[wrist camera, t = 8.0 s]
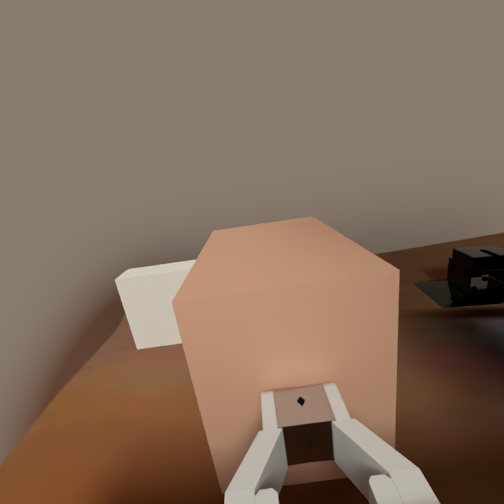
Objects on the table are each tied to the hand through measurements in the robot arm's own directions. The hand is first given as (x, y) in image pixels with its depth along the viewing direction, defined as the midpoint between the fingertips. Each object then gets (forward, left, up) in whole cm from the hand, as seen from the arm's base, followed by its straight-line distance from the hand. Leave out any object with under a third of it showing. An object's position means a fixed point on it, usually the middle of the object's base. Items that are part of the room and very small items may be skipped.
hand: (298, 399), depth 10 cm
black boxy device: (-20, -14, -6) cm, 25 cm away
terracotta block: (0, -6, -5) cm, 8 cm away
